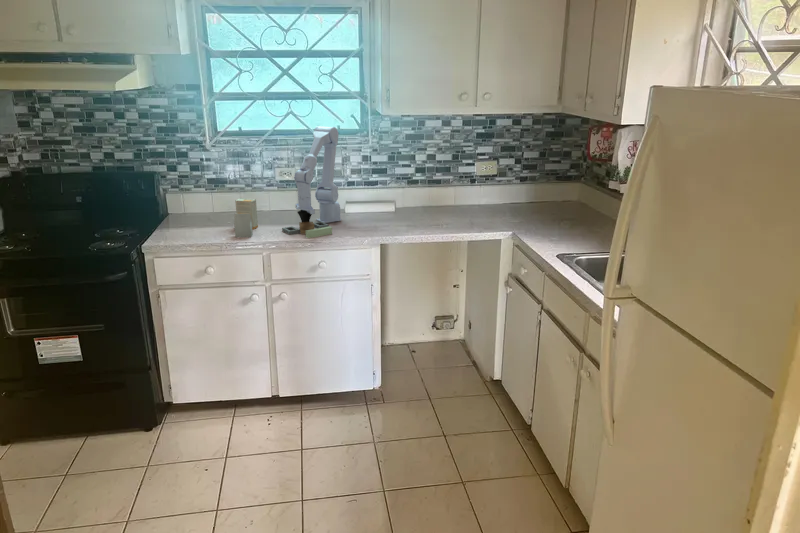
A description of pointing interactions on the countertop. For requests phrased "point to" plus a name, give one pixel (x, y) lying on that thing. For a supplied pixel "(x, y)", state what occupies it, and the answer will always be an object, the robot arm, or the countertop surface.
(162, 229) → the countertop surface
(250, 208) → the supplement box
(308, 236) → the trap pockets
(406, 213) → the countertop surface
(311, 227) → the tan block
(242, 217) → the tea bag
